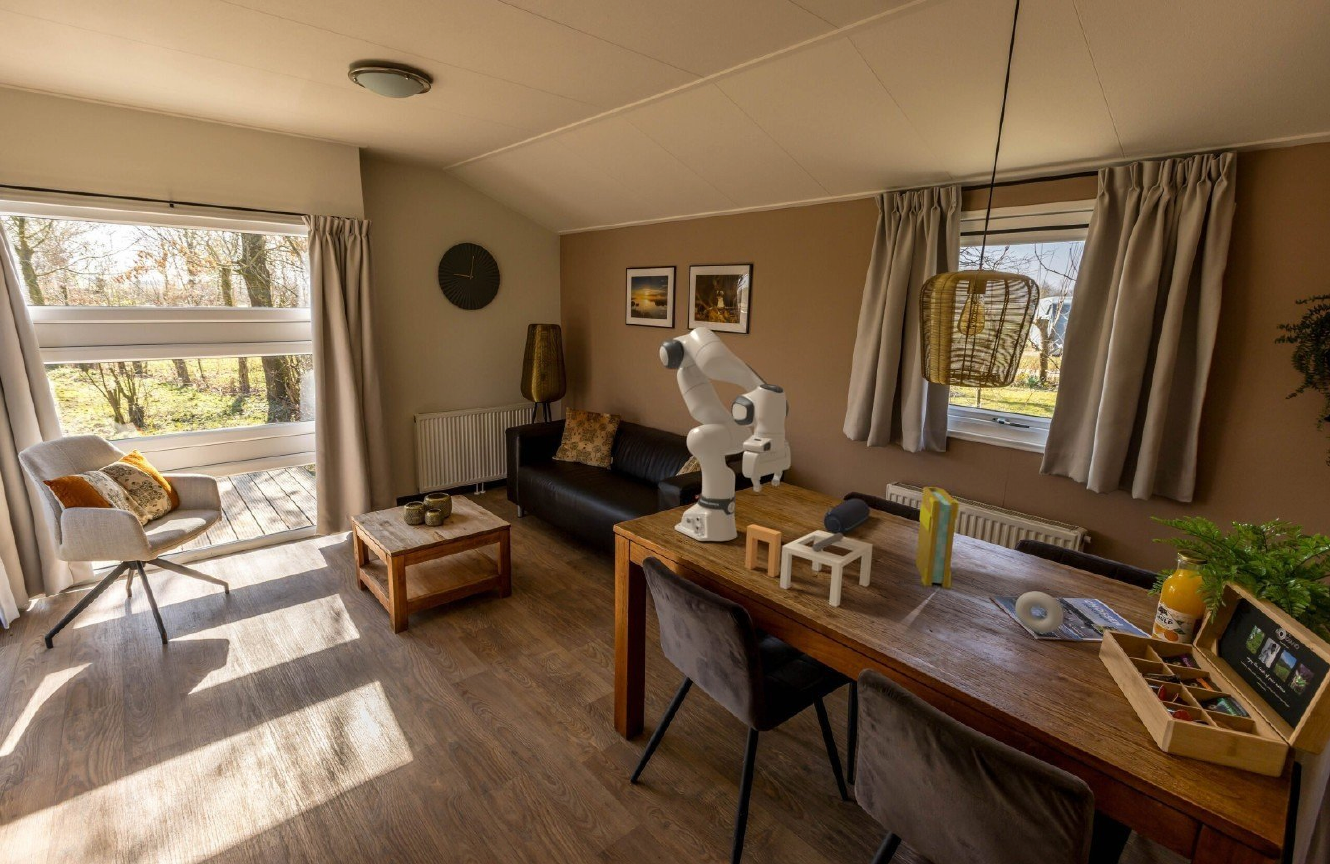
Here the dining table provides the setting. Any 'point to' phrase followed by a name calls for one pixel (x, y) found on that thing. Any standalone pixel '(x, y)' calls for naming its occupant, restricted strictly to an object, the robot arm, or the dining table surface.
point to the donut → (1043, 600)
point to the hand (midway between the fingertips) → (766, 488)
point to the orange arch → (774, 547)
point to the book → (936, 536)
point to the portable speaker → (846, 516)
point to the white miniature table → (827, 559)
